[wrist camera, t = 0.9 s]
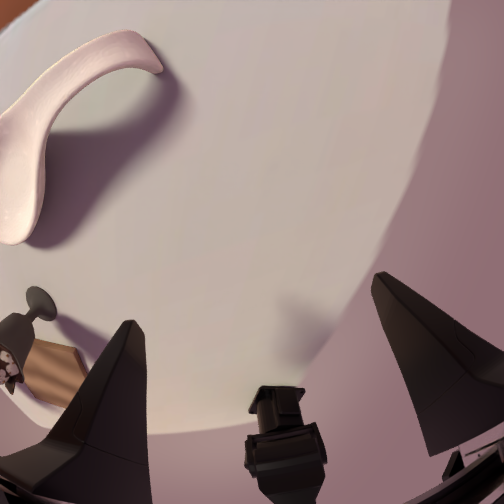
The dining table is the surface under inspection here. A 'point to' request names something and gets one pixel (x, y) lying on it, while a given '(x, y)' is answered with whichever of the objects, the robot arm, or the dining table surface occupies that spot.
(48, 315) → the sundae
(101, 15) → the dining table surface
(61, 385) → the serving board
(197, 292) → the dining table surface
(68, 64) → the spoon rest
